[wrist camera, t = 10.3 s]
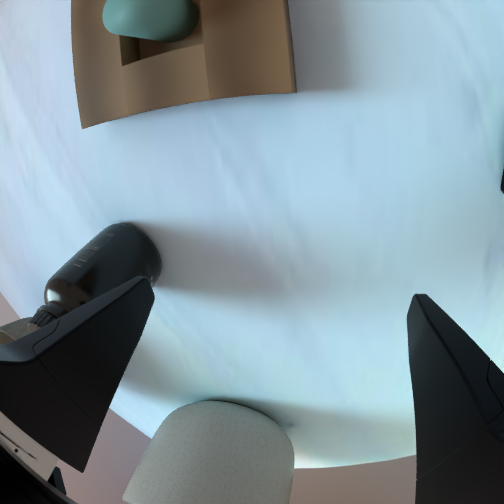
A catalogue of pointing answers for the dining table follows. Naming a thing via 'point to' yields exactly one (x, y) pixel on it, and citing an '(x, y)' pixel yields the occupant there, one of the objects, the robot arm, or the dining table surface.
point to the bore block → (181, 59)
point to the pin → (151, 18)
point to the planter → (215, 459)
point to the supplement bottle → (98, 271)
